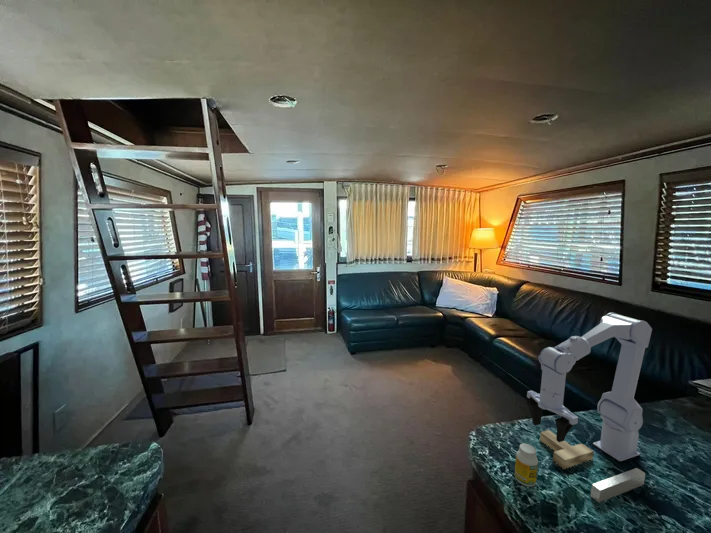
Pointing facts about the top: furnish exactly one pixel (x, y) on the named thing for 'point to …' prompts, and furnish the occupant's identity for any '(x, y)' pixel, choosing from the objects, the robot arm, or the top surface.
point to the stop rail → (617, 484)
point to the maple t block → (566, 451)
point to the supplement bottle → (526, 465)
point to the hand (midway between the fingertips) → (548, 432)
